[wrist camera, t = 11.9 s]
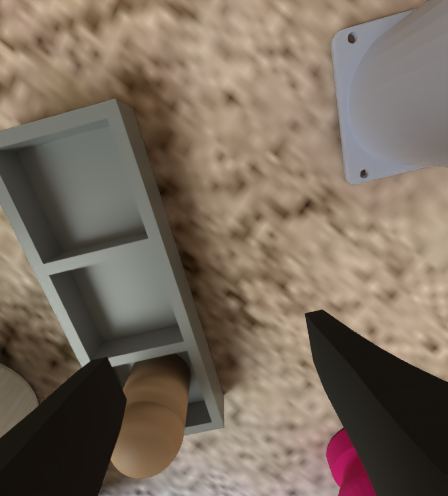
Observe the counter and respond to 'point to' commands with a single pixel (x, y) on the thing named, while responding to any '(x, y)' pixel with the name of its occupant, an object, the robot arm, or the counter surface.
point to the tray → (106, 246)
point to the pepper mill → (348, 467)
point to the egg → (153, 416)
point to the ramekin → (14, 399)
